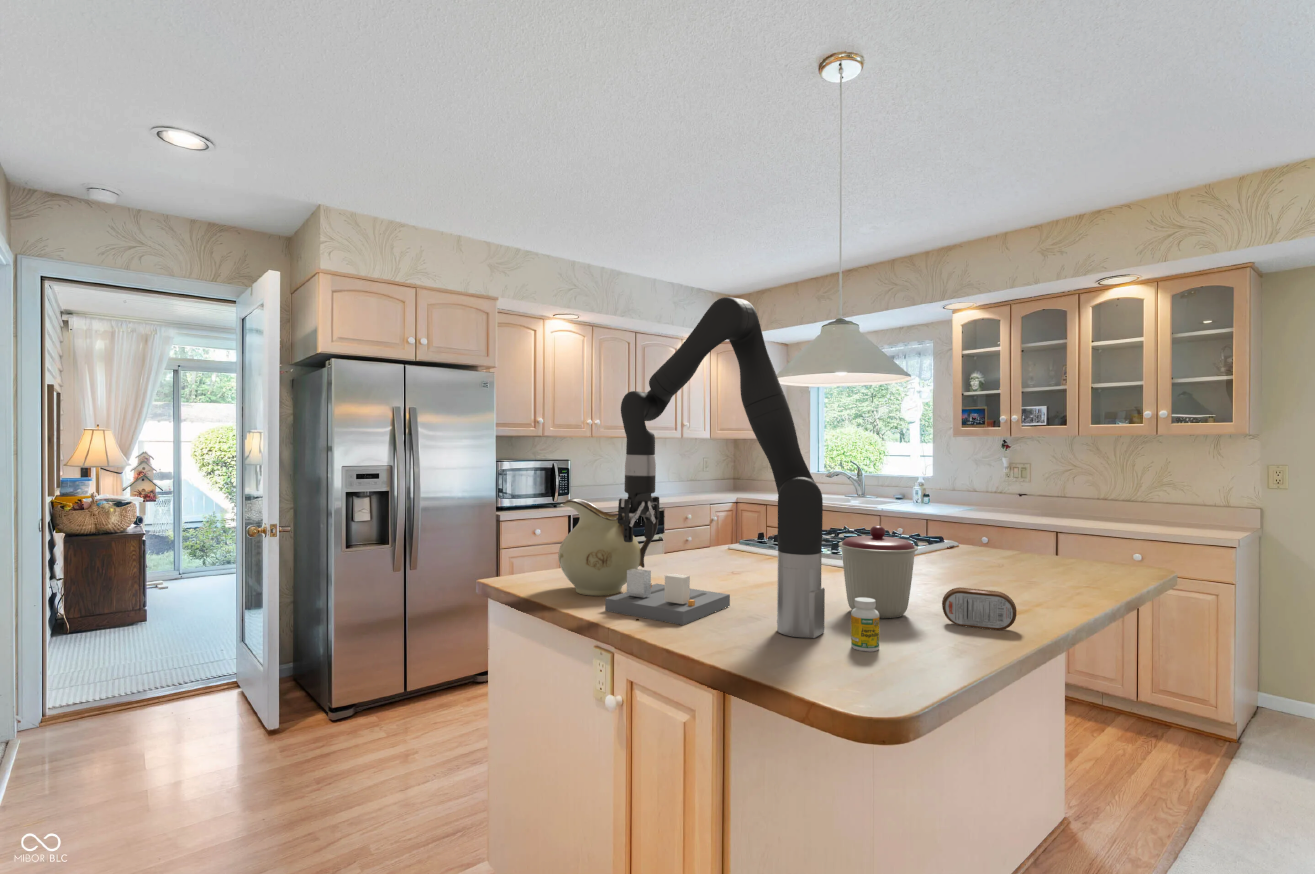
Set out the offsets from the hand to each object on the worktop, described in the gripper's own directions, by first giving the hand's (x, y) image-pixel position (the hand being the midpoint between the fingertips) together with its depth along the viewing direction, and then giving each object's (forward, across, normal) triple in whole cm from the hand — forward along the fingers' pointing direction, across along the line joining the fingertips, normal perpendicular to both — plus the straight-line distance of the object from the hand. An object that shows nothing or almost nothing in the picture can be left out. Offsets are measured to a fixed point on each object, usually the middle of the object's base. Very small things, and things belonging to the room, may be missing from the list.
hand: (638, 540), depth 161 cm
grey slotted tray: (+17, +5, -6) cm, 18 cm away
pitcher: (+17, +11, +20) cm, 29 cm away
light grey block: (+13, 0, 0) cm, 13 cm away
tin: (+16, +32, -71) cm, 79 cm away
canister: (+16, +31, -49) cm, 60 cm away
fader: (+13, 0, -11) cm, 17 cm away
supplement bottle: (+17, +1, -55) cm, 57 cm away
